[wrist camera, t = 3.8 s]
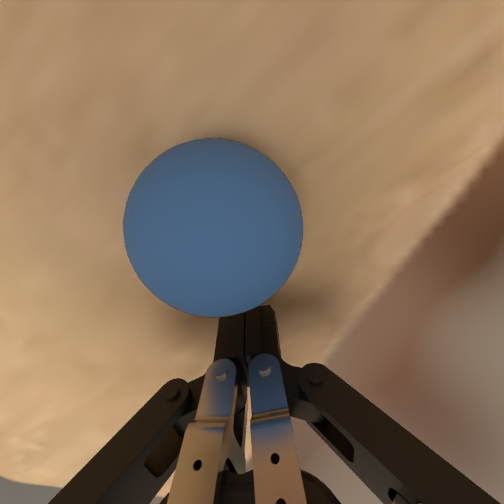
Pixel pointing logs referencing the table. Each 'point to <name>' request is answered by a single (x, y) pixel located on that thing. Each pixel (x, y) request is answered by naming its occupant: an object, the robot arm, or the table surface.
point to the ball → (213, 227)
